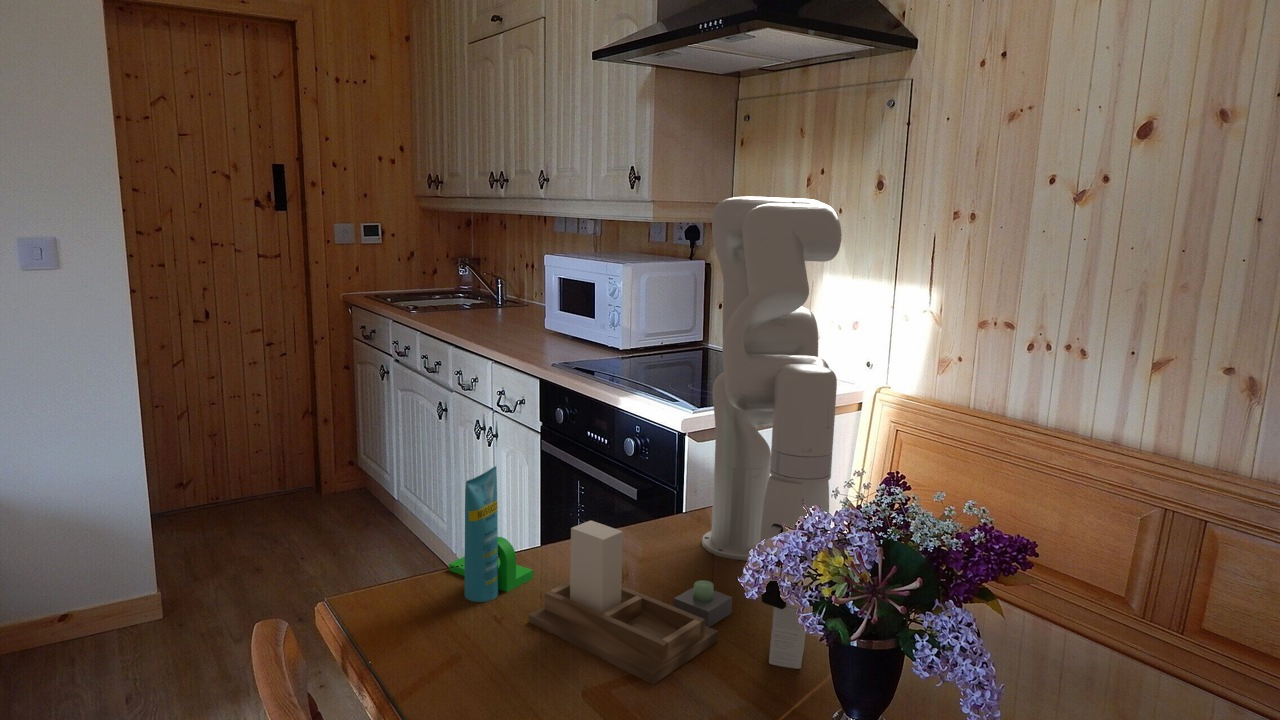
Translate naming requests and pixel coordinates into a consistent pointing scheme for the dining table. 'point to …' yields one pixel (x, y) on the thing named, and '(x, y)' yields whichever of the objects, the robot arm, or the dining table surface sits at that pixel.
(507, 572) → the mechanical part
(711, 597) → the button
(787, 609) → the skincare box
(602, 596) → the billet
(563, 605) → the wooden compartment tray
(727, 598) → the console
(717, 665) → the dining table surface
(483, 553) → the tube
